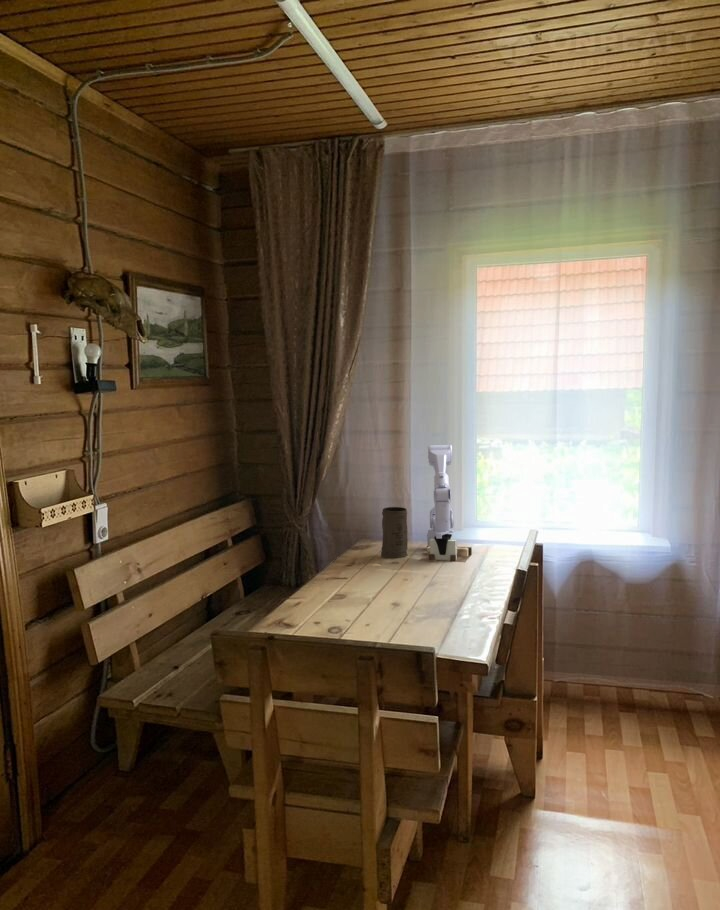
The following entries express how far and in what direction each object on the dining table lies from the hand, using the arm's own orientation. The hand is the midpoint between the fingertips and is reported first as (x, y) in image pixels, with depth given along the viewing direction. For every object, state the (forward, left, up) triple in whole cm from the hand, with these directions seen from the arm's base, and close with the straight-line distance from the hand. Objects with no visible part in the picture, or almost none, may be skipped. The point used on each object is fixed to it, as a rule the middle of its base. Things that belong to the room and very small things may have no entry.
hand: (443, 553), depth 269 cm
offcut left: (-5, +7, -2) cm, 9 cm away
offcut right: (+5, +7, -2) cm, 9 cm away
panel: (0, 0, -2) cm, 2 cm away
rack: (0, +3, -3) cm, 5 cm away
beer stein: (-22, +3, -3) cm, 22 cm away
